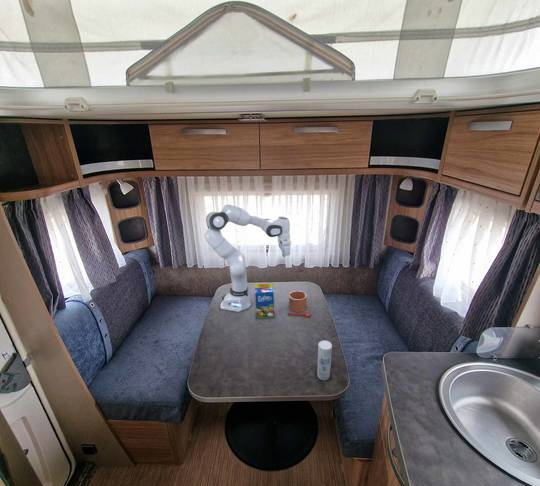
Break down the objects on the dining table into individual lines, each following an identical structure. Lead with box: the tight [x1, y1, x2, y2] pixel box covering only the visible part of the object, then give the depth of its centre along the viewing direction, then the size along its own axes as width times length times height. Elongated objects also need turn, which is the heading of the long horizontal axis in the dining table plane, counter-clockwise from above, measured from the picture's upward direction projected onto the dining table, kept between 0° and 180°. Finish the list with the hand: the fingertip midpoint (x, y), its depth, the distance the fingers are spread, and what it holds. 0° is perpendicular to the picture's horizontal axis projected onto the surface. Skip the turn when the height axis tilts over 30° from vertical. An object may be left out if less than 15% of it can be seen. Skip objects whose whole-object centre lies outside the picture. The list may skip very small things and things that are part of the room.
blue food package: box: [254, 283, 275, 319], centre depth 190 cm, size 6×12×25 cm, turn 92°
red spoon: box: [287, 312, 311, 318], centre depth 194 cm, size 15×4×1 cm, turn 81°
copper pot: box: [288, 290, 307, 313], centre depth 202 cm, size 12×12×10 cm
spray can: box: [316, 339, 333, 381], centre depth 141 cm, size 6×6×20 cm
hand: (283, 256), depth 210 cm, fingers closed
